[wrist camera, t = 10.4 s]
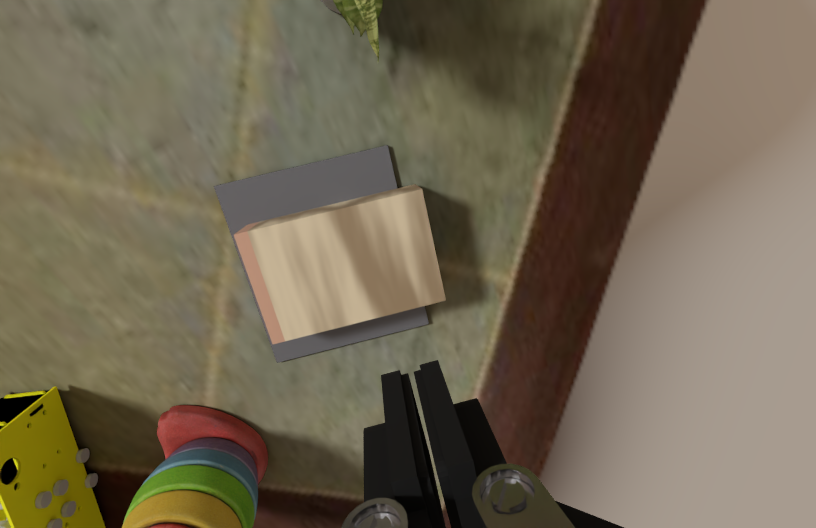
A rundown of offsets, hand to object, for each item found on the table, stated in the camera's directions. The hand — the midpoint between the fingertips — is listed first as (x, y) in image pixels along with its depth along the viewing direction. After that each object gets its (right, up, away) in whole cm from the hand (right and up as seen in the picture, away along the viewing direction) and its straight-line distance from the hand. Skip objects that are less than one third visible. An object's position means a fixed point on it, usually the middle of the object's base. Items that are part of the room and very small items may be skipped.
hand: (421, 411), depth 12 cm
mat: (-7, +5, +24) cm, 26 cm away
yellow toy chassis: (-32, -14, +27) cm, 44 cm away
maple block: (+1, +6, +22) cm, 23 cm away
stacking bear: (-19, -14, +28) cm, 37 cm away
